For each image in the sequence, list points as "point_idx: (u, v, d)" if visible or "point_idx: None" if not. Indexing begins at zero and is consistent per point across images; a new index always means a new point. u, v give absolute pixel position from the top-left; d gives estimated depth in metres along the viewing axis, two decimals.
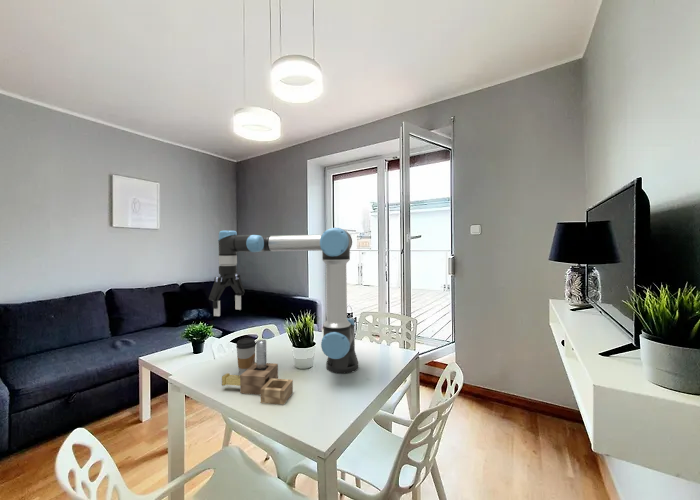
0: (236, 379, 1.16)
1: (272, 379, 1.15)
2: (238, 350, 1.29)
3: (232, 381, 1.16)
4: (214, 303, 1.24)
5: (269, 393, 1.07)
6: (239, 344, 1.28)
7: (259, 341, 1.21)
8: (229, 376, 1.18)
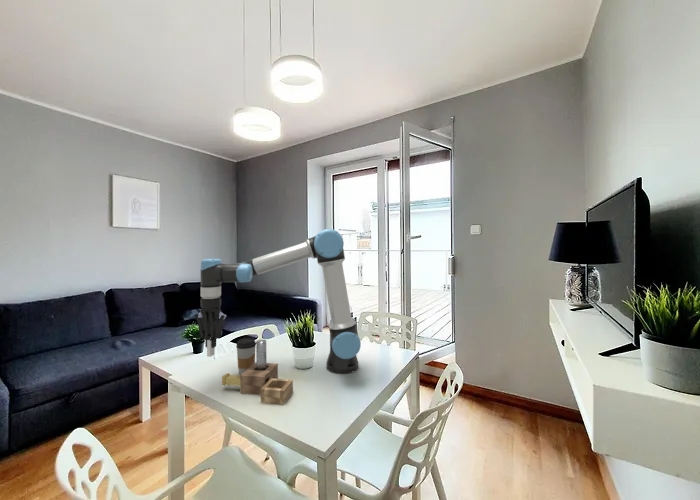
0: (236, 379, 1.16)
1: (272, 379, 1.15)
2: (238, 350, 1.29)
3: (232, 381, 1.16)
4: None
5: (269, 393, 1.07)
6: (239, 344, 1.28)
7: (259, 341, 1.21)
8: (229, 376, 1.18)
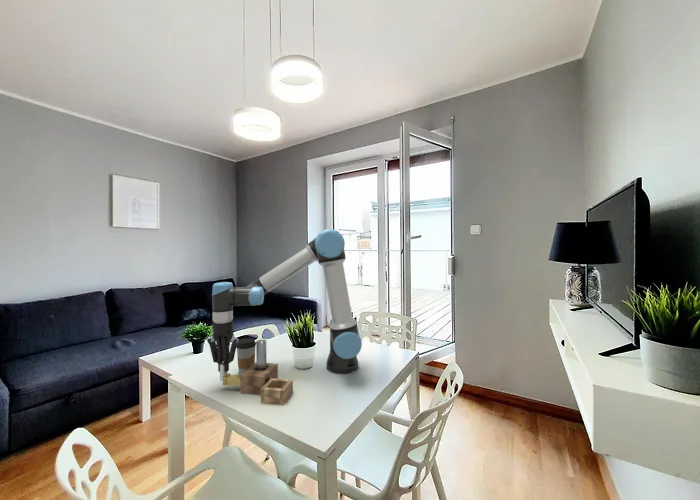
0: (237, 379, 1.16)
1: (272, 379, 1.15)
2: (238, 350, 1.29)
3: (232, 381, 1.16)
4: None
5: (269, 393, 1.07)
6: (239, 344, 1.28)
7: (259, 341, 1.21)
8: (230, 376, 1.17)
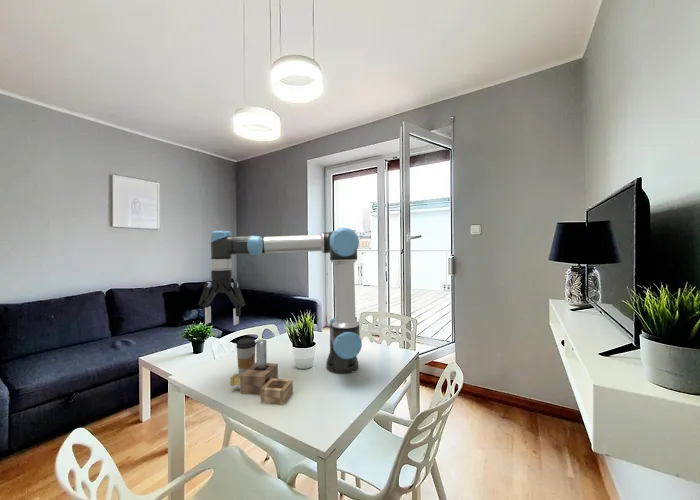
0: None
1: (272, 379, 1.15)
2: (238, 350, 1.29)
3: None
4: None
5: (269, 393, 1.07)
6: (239, 344, 1.28)
7: (259, 341, 1.21)
8: (237, 377, 1.17)
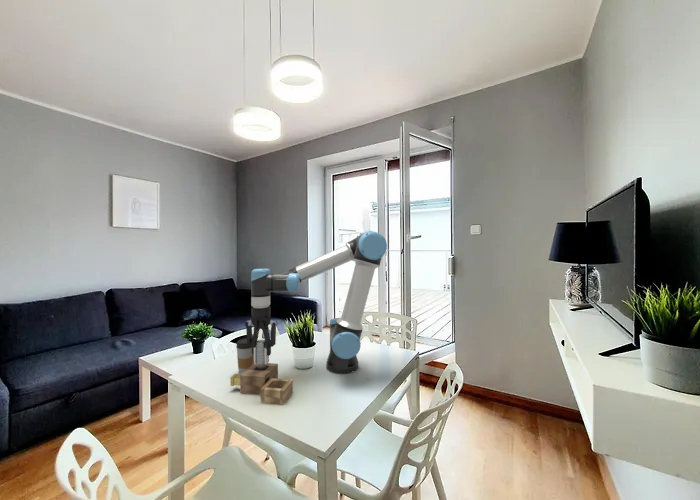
0: None
1: (272, 379, 1.15)
2: (238, 350, 1.29)
3: None
4: None
5: (269, 393, 1.07)
6: (239, 344, 1.28)
7: (259, 341, 1.21)
8: (237, 377, 1.17)
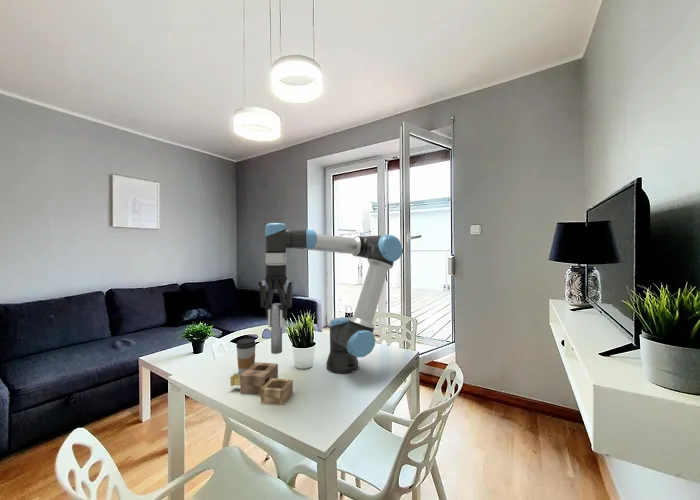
0: None
1: (272, 379, 1.15)
2: (238, 350, 1.29)
3: None
4: None
5: (269, 393, 1.07)
6: (239, 344, 1.28)
7: (274, 304, 1.10)
8: (237, 377, 1.17)
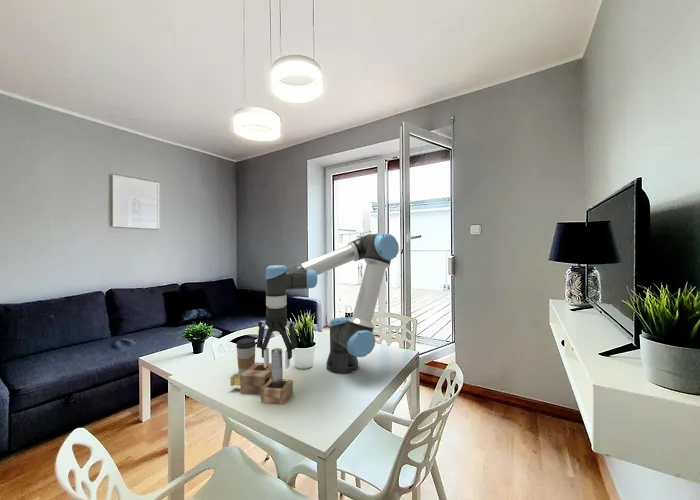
0: None
1: None
2: (238, 350, 1.29)
3: None
4: None
5: (269, 393, 1.07)
6: (239, 344, 1.28)
7: (274, 350, 1.11)
8: (237, 377, 1.17)
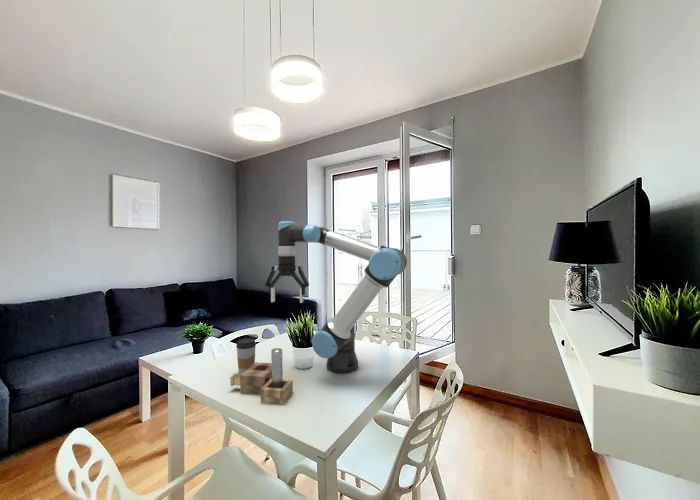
0: None
1: None
2: (238, 350, 1.29)
3: None
4: None
5: (269, 393, 1.07)
6: (239, 344, 1.28)
7: (274, 350, 1.11)
8: (237, 377, 1.17)
